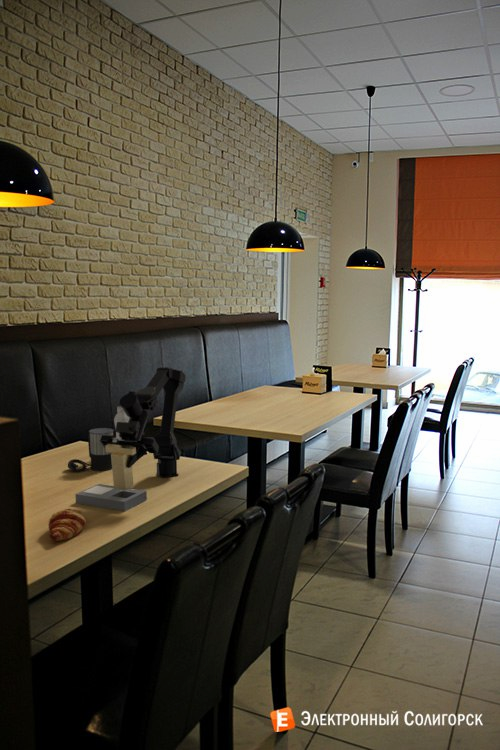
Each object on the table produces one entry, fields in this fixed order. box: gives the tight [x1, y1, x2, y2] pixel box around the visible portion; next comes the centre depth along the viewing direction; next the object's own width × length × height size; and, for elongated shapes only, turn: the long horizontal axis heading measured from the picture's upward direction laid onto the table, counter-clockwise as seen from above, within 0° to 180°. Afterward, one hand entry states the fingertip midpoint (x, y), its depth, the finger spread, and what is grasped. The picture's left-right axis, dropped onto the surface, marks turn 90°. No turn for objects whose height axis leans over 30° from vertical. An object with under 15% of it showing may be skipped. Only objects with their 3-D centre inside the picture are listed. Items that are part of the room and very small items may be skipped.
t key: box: [105, 444, 136, 490], centre depth 204 cm, size 4×10×14 cm, turn 66°
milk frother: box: [67, 427, 114, 472], centre depth 246 cm, size 14×16×15 cm
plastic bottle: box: [113, 405, 130, 440], centre depth 268 cm, size 6×7×20 cm
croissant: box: [48, 508, 87, 542], centre depth 182 cm, size 21×10×8 cm, turn 179°
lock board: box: [75, 483, 148, 512], centre depth 208 cm, size 19×12×3 cm, turn 65°
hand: (121, 466), depth 204 cm, fingers closed on t key, 5 cm apart
